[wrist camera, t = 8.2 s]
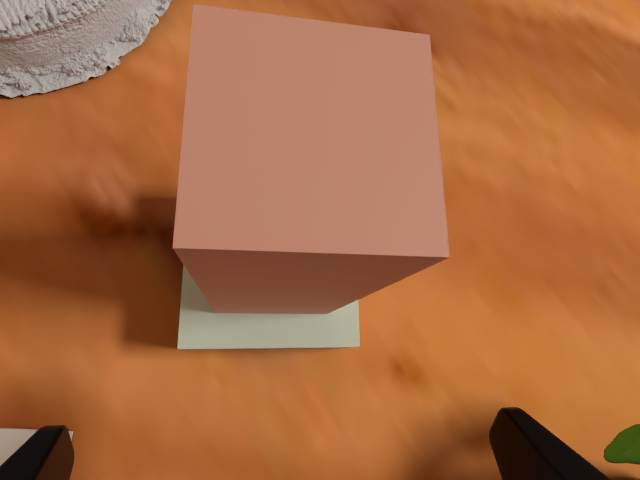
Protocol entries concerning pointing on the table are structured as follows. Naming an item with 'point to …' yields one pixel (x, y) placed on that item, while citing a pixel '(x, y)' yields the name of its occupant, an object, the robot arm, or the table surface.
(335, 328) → the base brick
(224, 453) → the table surface
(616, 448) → the snack cup
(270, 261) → the tall brick
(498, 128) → the table surface
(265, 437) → the table surface
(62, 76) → the grey round stone disc
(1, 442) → the page
